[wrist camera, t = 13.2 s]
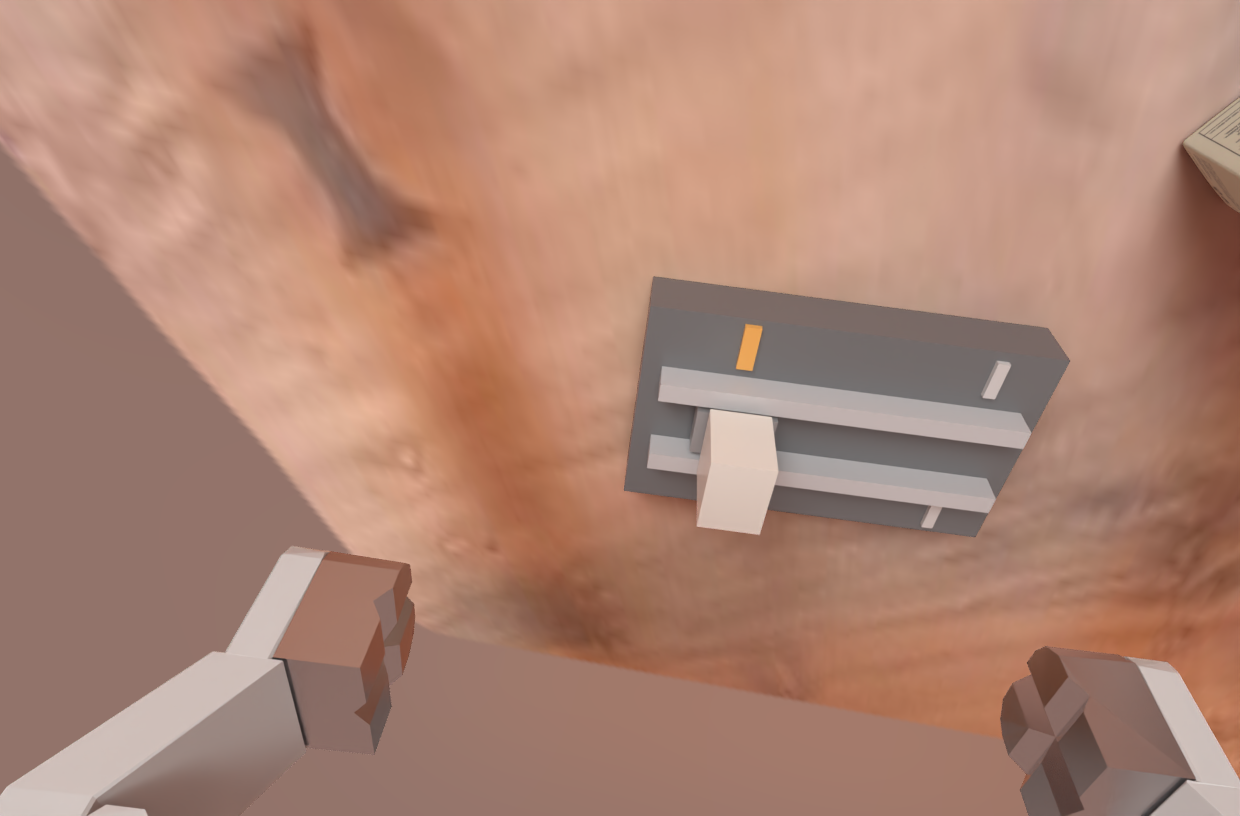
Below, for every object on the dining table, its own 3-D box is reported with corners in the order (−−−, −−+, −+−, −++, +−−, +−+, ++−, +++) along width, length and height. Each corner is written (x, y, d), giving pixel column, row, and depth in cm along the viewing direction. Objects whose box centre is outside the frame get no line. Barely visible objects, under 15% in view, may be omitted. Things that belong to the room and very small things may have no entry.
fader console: (1047, 328, 39) (1083, 380, 36) (961, 500, 47) (983, 558, 43) (653, 276, 40) (648, 323, 36) (627, 456, 47) (621, 510, 43)
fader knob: (779, 396, 39) (789, 473, 35) (762, 456, 42) (770, 536, 37) (700, 386, 39) (699, 461, 35) (687, 447, 42) (686, 525, 37)
